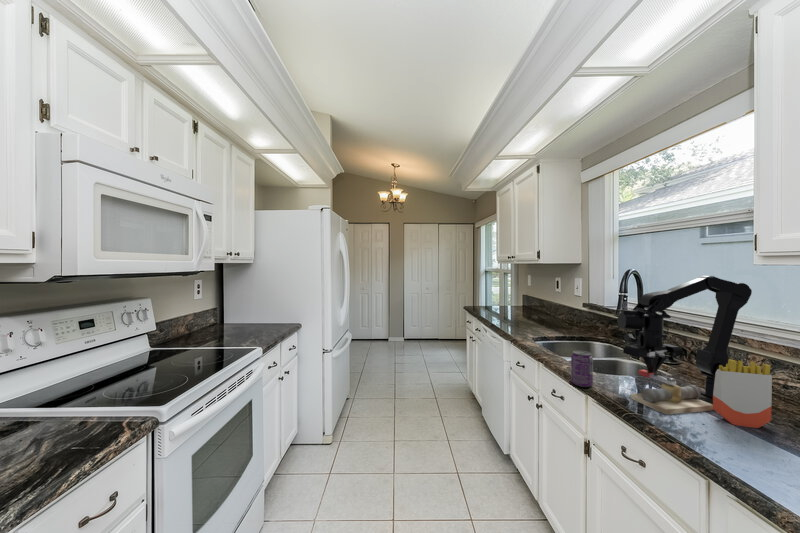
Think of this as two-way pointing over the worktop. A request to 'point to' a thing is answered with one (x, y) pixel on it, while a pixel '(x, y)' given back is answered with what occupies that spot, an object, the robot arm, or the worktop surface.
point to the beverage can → (582, 368)
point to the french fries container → (743, 393)
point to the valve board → (675, 406)
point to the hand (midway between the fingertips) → (651, 374)
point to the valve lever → (658, 377)
